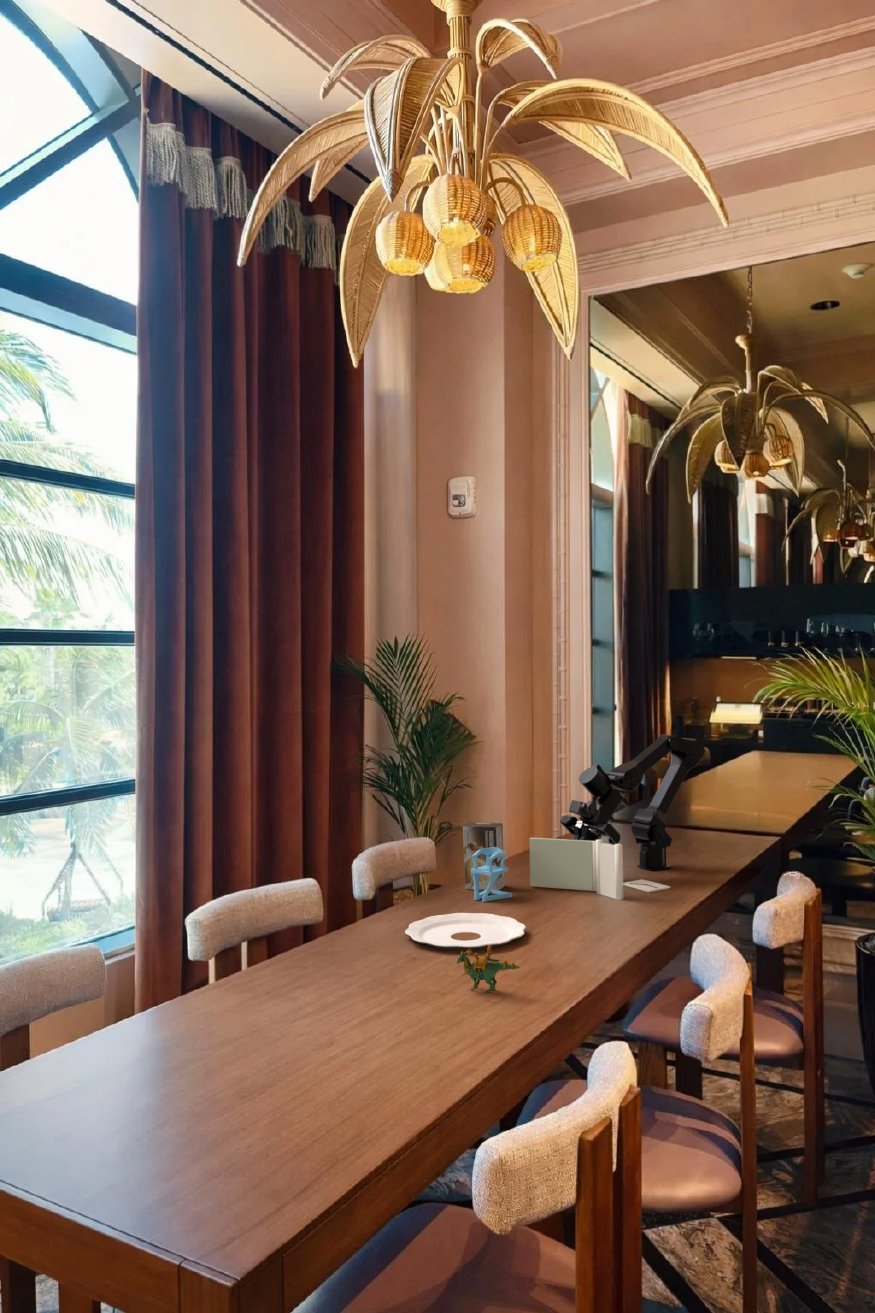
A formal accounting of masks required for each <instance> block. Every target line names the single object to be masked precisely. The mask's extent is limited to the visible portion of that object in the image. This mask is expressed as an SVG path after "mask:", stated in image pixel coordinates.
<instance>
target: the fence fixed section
mask: <svg viewBox="0 0 875 1313" xmlns="http://www.w3.org/2000/svg"><path fill="white" fill-rule="evenodd" d="M623 858H624V856H623V844H622V843H618V844H615V845H613V844H610V843H606V842H604V840H603V839H601V840H600V839H598V840H596V878H597V891H596V894H598V895H601V896H604V897H608V898H612V899H615V900H617V901H622V900H624V885H623V883H624V862H623V860H624V859H623Z"/></svg>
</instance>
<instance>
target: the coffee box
mask: <svg viewBox="0 0 875 1313" xmlns="http://www.w3.org/2000/svg"><path fill="white" fill-rule="evenodd" d="M503 829H504V828H503V823H501V822H500V823H499V822H479V821H478V822H472V821H470V822H468V823H465V825H463V826H462V837H463V839H462V840H463V844H462V845H463V866H464V867H463V868H464V870H463V871H464V889H465V890H474V876H473V873H471V869H473V868H474V861H473V858H472V855H474V854H475V853H476V851H478V850H480V849H483V848H490V847H497V848H499V849H501V850H502V851H504V835H503V832H504V831H503ZM491 856H492V855H489V857H491ZM476 861H477V864H478V867H482V866H484V865H486V855H485V854H479V855H478V856H477V858H476ZM501 861H502V857H500V856H498V857H496V858H495V859H494V860H493V861H492V865H493V866H497V867H501ZM478 867H477V868H478ZM489 882H490V876H487V875H484V874H480V876H479V891H484V890H486V889H487V886H488V884H489ZM504 887H505V872H504V873H502V874H501V875H499V876H498V877H497V878H496V880H495V882H494V884H493V886H492V888H491V889H492V890H497V891H501V889H503V888H504Z"/></svg>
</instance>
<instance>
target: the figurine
mask: <svg viewBox="0 0 875 1313" xmlns="http://www.w3.org/2000/svg"><path fill="white" fill-rule="evenodd" d="M492 948H493V947H492V946H491V945H489V946H488V948H486V949H487V950H486V951H487V952H486V953H485V955H484V957H479V953H478V952H476V953H474V955H473V956H474V958H475V960H474V961H473V962H472V963H471V960H470V958H469V957H471V956H472V954H473V950H465V952H464V950H461V952H460V955H459V956H458V957H457V961H456V964H457V965H458V964H461V963H463V973H460V972H459V973H460V975H462V976H464V975H467V976H469V978H471V980H472V981H473V982H474V984H473V986H472V988H470V991H474V990H475V989H476V988H478V986H479V985H480V982H481V981H484V982H485V983H486V984H487V985H489V987H488V989H486V990H485V994H489V993H494V991H493V990H495V991H496V990H497V988H496V985H497V982H498V981H497V980H496V975H497V973H499V972H501V971H507V970H512V971H513V970H515V969H516V970H517V969H521V966H519V965H516V963H514V962H511V964H509V961H507V960H506V959H505V960H504V962H500V961H502V958H500V959H497V958H491V956H492V954H493V953H492ZM466 955H467V956H468V957H467V956H466Z"/></svg>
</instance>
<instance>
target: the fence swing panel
mask: <svg viewBox="0 0 875 1313" xmlns="http://www.w3.org/2000/svg"><path fill="white" fill-rule="evenodd" d="M528 840H529V841H528V842H529V878H530V879H529V885H530V887H540V888H541V887H542V888H554V889H566V890H579V891H595V892H597V878H596V841H586V840H574V839H565V838H564V839H563V838H561V839H560V838H549V837H548V838H545V837H529V838H528Z"/></svg>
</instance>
